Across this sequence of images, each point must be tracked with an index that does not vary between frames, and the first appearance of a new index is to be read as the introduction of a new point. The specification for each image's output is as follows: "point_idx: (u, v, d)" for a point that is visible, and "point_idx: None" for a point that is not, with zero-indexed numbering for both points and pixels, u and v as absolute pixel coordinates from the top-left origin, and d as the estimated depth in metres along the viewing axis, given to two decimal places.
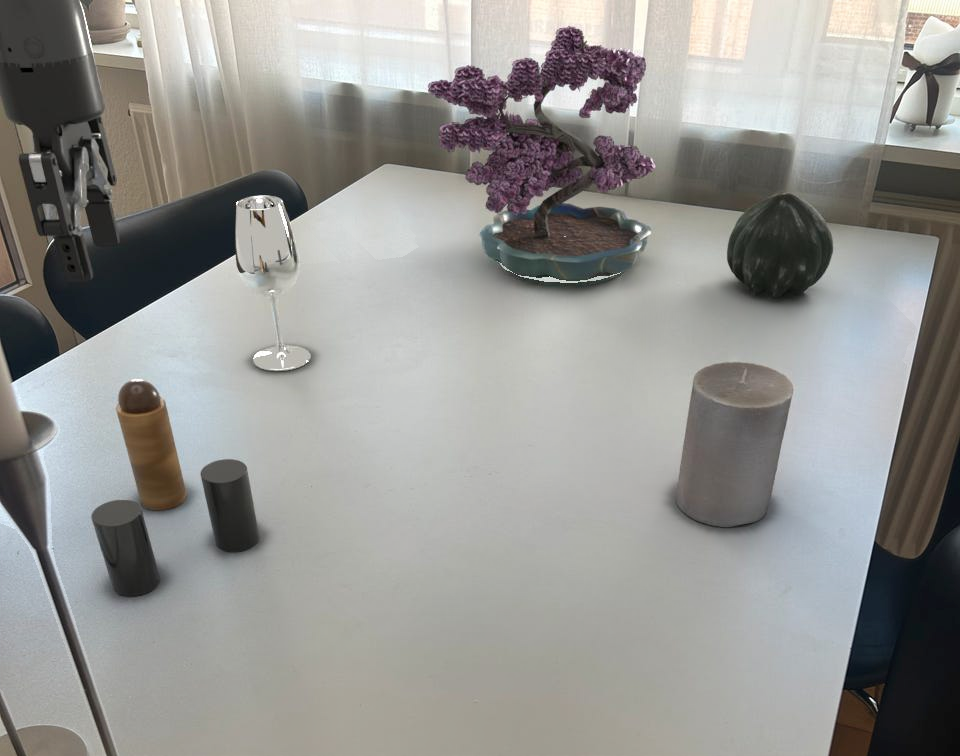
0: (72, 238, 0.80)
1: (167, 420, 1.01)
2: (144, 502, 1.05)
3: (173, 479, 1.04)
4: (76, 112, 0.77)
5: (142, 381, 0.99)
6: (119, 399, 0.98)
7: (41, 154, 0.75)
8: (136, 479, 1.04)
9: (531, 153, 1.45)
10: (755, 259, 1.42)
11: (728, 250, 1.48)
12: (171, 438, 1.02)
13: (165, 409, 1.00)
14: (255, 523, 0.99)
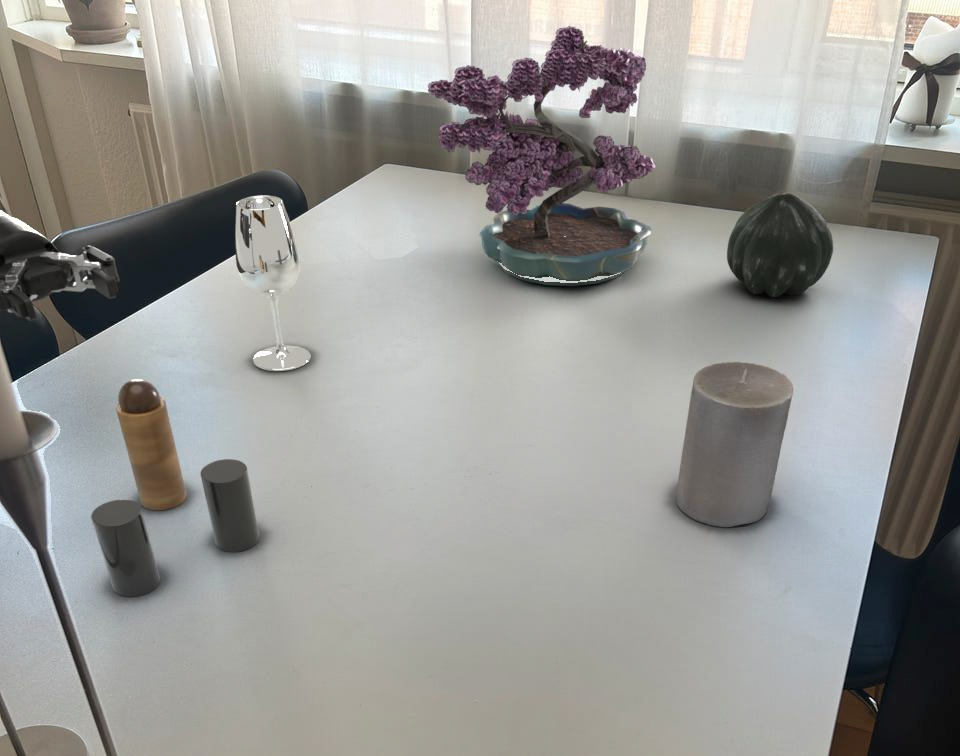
0: None
1: (167, 420, 1.01)
2: (144, 502, 1.05)
3: (173, 479, 1.04)
4: None
5: (142, 381, 0.99)
6: (119, 399, 0.98)
7: None
8: (136, 479, 1.04)
9: (531, 153, 1.45)
10: (755, 259, 1.42)
11: (728, 250, 1.48)
12: (171, 438, 1.02)
13: (165, 409, 1.00)
14: (255, 523, 0.99)
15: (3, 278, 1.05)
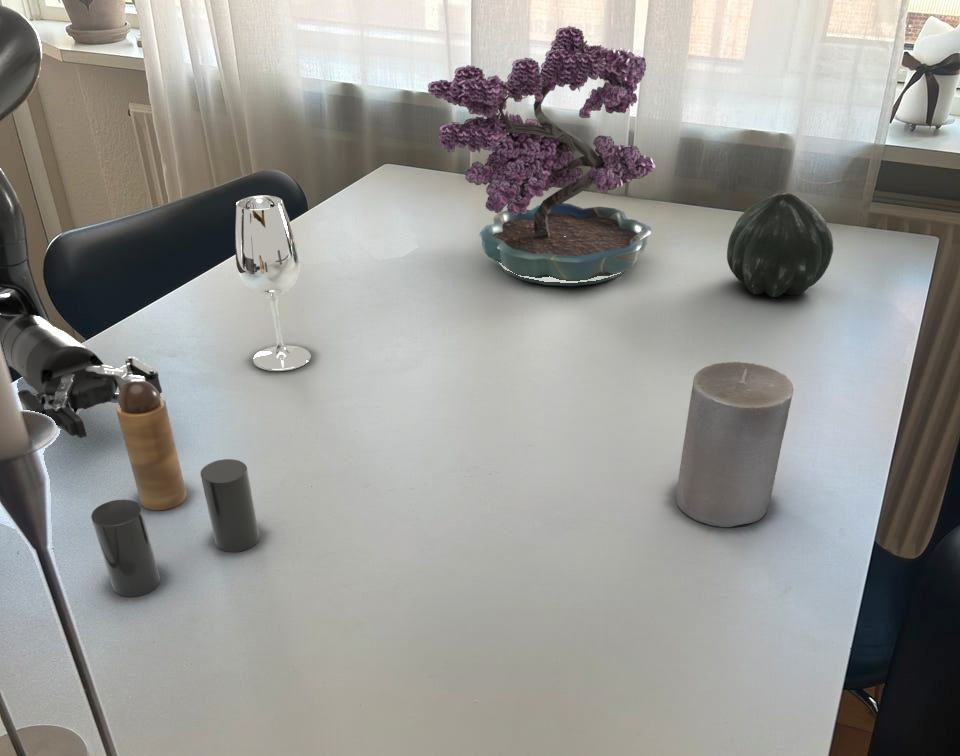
0: None
1: (167, 420, 1.01)
2: (144, 502, 1.05)
3: (173, 479, 1.04)
4: None
5: (142, 381, 0.99)
6: (119, 399, 0.98)
7: None
8: (136, 479, 1.04)
9: (531, 153, 1.45)
10: (755, 259, 1.42)
11: (728, 250, 1.48)
12: (171, 438, 1.02)
13: (165, 409, 1.00)
14: (255, 523, 0.99)
15: (52, 393, 1.09)
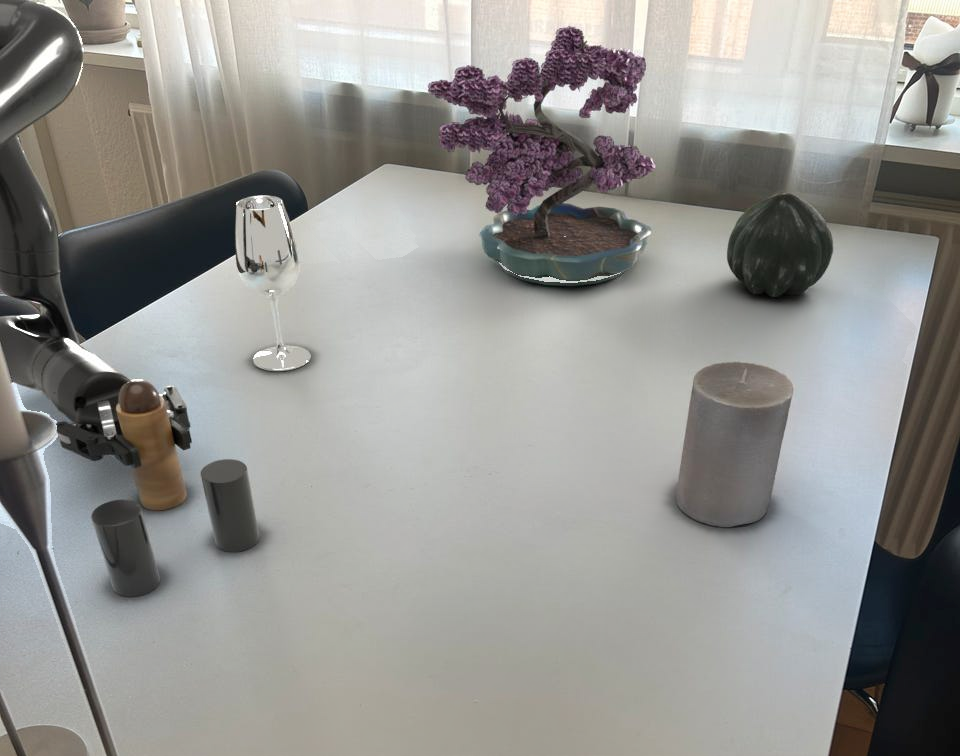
0: None
1: (167, 420, 1.01)
2: (144, 502, 1.05)
3: (174, 479, 1.04)
4: None
5: (142, 381, 0.98)
6: (119, 399, 0.98)
7: None
8: (136, 479, 1.04)
9: (531, 153, 1.45)
10: (755, 259, 1.42)
11: (728, 250, 1.48)
12: (171, 438, 1.02)
13: (165, 409, 1.00)
14: (255, 523, 0.99)
15: (86, 422, 1.04)
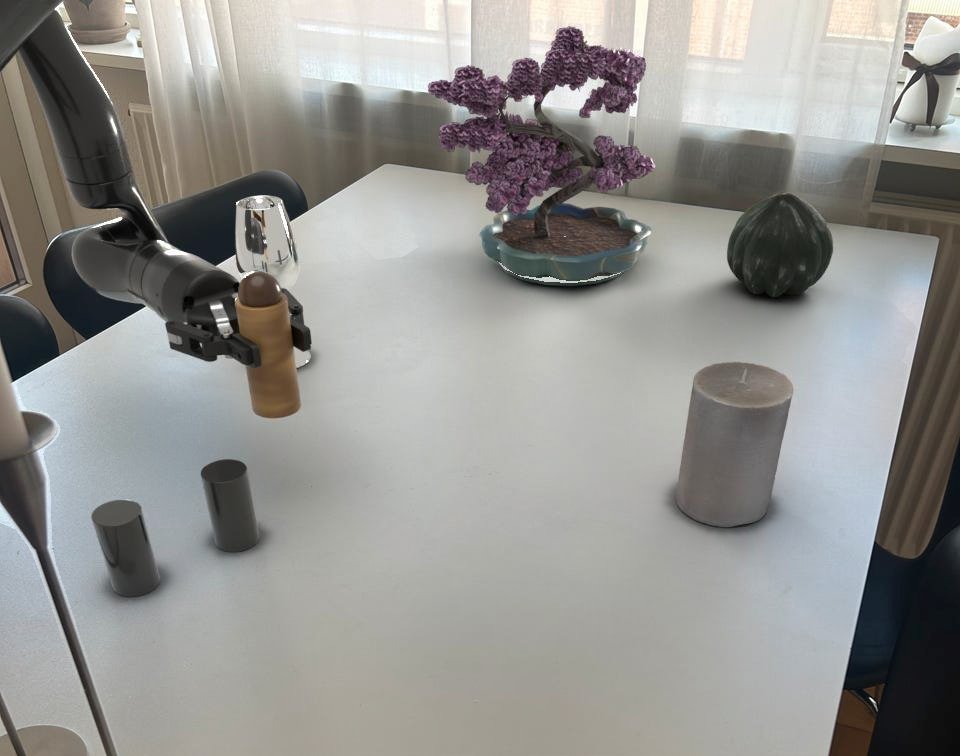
0: None
1: (288, 317, 0.93)
2: (258, 409, 0.98)
3: (291, 384, 0.97)
4: None
5: (264, 272, 0.91)
6: (240, 291, 0.91)
7: None
8: (251, 383, 0.96)
9: (531, 153, 1.45)
10: (755, 259, 1.42)
11: (728, 250, 1.48)
12: (291, 338, 0.95)
13: (287, 304, 0.93)
14: (255, 523, 0.99)
15: (196, 322, 0.97)
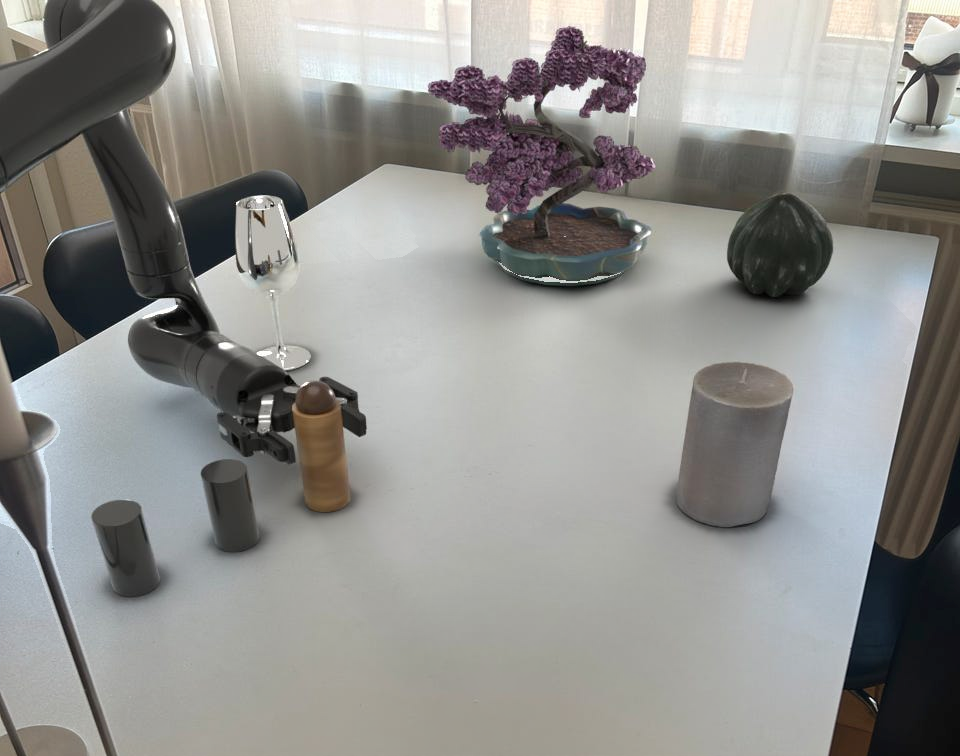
0: None
1: (341, 421, 1.00)
2: (311, 504, 1.05)
3: (342, 481, 1.03)
4: None
5: (320, 382, 0.98)
6: (297, 400, 0.98)
7: None
8: (305, 481, 1.03)
9: (531, 153, 1.45)
10: (755, 259, 1.42)
11: (728, 250, 1.48)
12: (343, 439, 1.02)
13: (340, 410, 1.00)
14: (255, 523, 0.99)
15: (251, 416, 1.03)
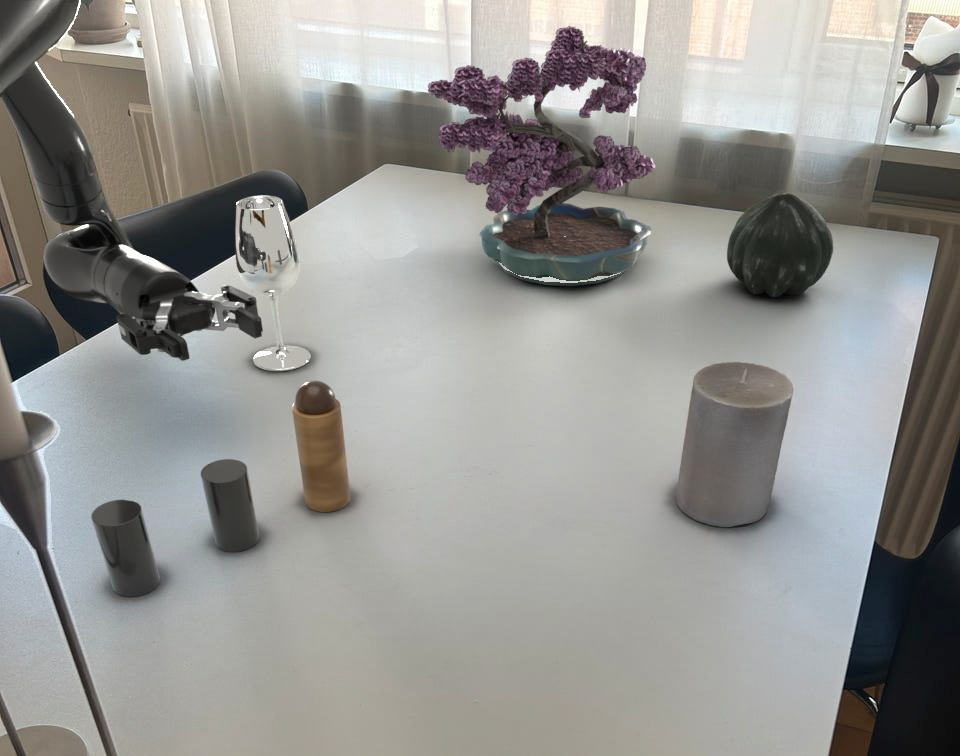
0: None
1: (341, 421, 1.00)
2: (311, 504, 1.05)
3: (342, 481, 1.03)
4: None
5: (320, 382, 0.98)
6: (297, 400, 0.98)
7: None
8: (305, 481, 1.03)
9: (531, 153, 1.45)
10: (755, 259, 1.42)
11: (728, 250, 1.48)
12: (343, 439, 1.02)
13: (340, 410, 1.00)
14: (255, 523, 0.99)
15: (150, 318, 1.07)
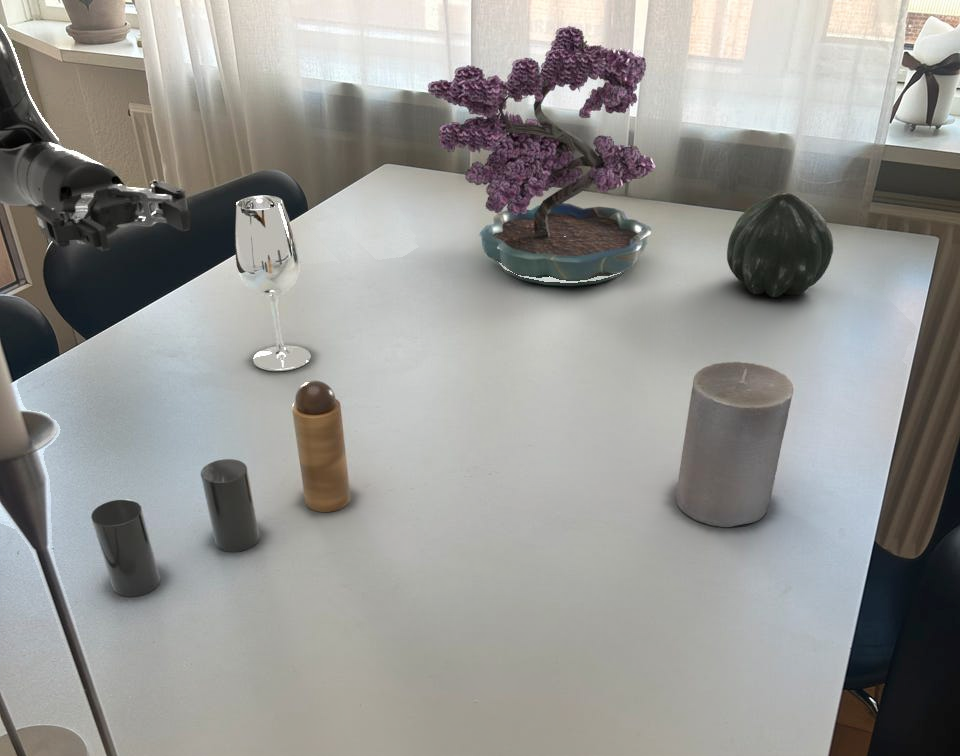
0: None
1: (341, 421, 1.00)
2: (311, 504, 1.05)
3: (342, 481, 1.03)
4: None
5: (320, 382, 0.98)
6: (297, 400, 0.98)
7: None
8: (305, 481, 1.03)
9: (531, 153, 1.45)
10: (755, 259, 1.42)
11: (728, 250, 1.48)
12: (343, 439, 1.02)
13: (340, 410, 1.00)
14: (255, 523, 0.99)
15: (71, 210, 1.00)
